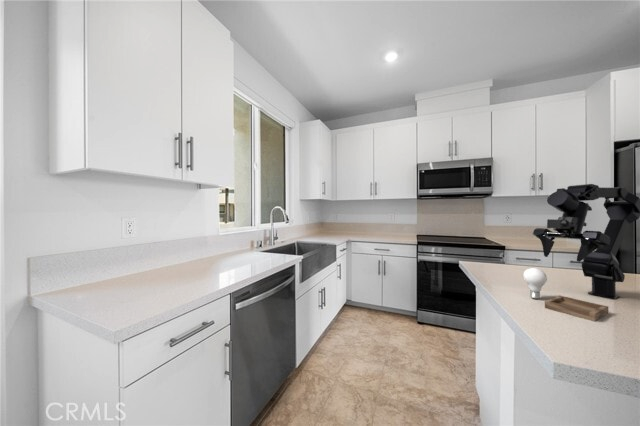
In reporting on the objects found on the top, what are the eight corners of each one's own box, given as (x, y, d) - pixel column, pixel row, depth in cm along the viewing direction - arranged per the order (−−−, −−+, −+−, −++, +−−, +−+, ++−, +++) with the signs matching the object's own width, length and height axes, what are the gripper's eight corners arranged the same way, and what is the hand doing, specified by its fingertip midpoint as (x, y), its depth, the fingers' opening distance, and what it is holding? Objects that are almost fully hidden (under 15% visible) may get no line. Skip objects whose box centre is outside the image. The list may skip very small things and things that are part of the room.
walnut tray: (559, 302, 83) (559, 295, 83) (608, 313, 73) (608, 306, 73) (544, 307, 78) (544, 301, 78) (594, 321, 68) (594, 313, 68)
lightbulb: (522, 294, 91) (522, 265, 91) (545, 297, 87) (545, 267, 87) (524, 299, 85) (524, 268, 85) (548, 303, 82) (548, 271, 82)
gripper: (529, 208, 92) (516, 246, 91) (595, 207, 74) (581, 254, 72) (548, 220, 95) (536, 257, 93) (616, 221, 77) (604, 267, 75)
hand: (561, 258), depth 83 cm, fingers open, 9 cm apart
